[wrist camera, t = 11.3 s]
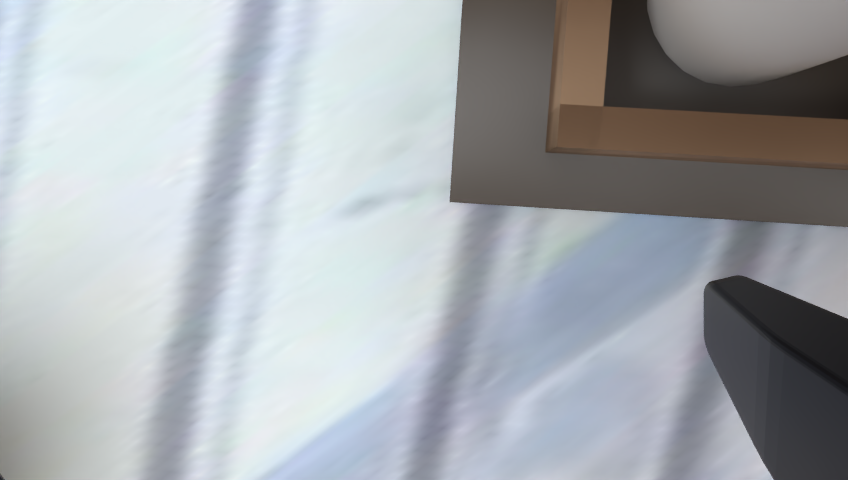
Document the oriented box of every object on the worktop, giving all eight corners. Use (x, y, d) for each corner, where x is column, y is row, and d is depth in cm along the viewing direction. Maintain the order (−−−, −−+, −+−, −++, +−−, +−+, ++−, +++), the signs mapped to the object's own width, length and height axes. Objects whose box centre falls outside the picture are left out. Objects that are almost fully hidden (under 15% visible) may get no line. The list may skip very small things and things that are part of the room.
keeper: (968, 234, 19) (1060, 242, 16) (449, 201, 19) (446, 203, 17) (1016, -152, 18) (1120, -217, 15) (473, -169, 19) (475, -234, 16)
